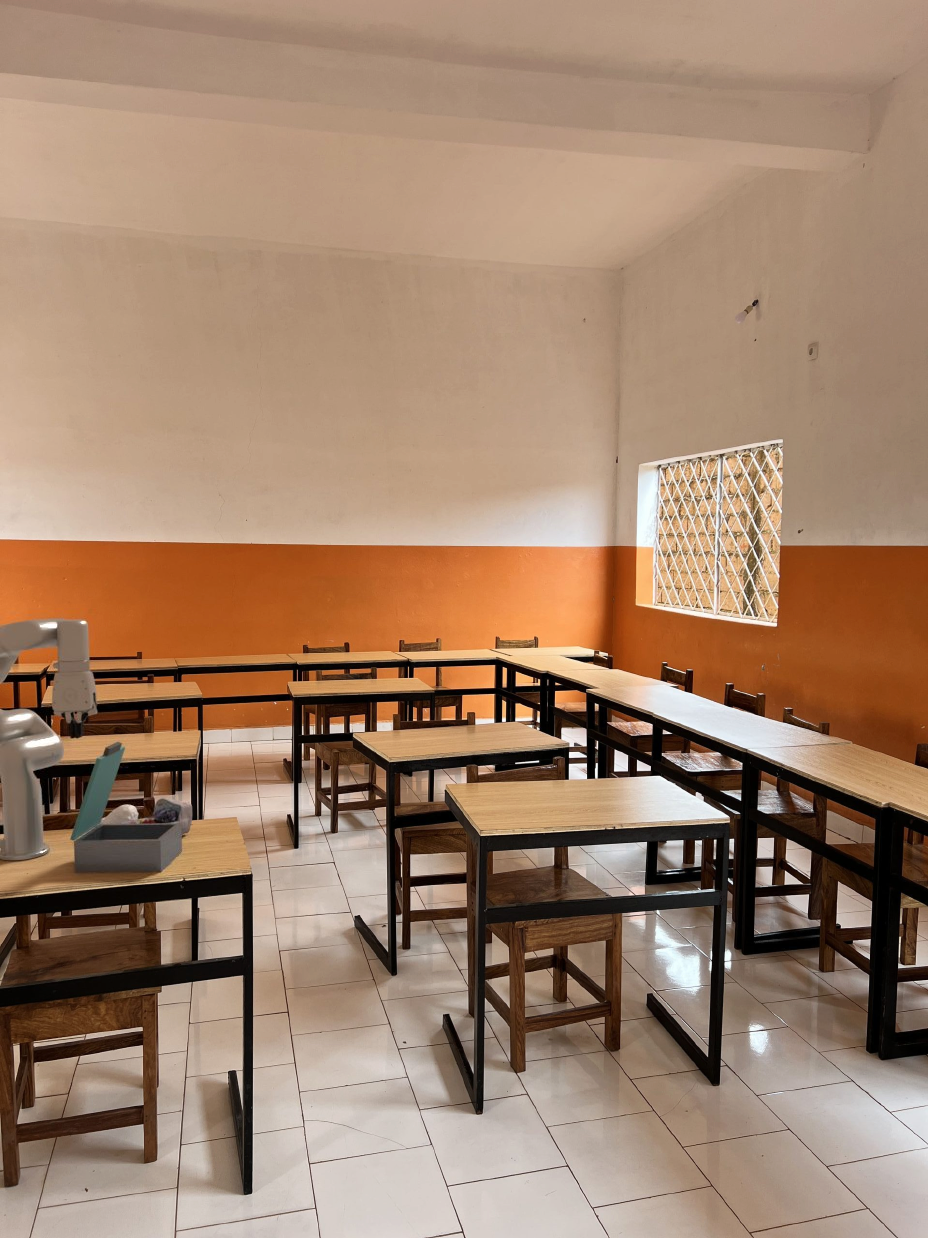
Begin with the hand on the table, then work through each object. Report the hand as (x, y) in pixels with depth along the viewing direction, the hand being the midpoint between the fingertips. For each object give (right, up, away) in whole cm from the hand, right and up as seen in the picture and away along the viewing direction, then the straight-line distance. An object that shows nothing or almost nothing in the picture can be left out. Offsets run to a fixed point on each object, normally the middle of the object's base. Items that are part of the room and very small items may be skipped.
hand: (76, 737), depth 235 cm
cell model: (+14, -32, +21) cm, 41 cm away
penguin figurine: (0, -32, +28) cm, 43 cm away
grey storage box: (+13, -33, +1) cm, 36 cm away
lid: (+6, -14, +1) cm, 15 cm away
